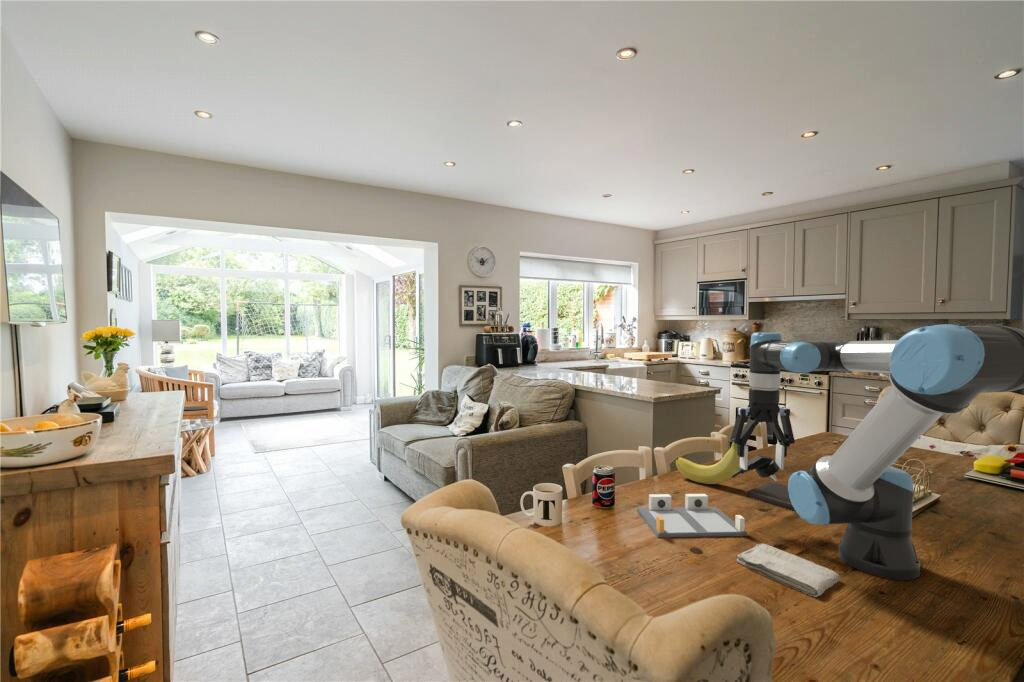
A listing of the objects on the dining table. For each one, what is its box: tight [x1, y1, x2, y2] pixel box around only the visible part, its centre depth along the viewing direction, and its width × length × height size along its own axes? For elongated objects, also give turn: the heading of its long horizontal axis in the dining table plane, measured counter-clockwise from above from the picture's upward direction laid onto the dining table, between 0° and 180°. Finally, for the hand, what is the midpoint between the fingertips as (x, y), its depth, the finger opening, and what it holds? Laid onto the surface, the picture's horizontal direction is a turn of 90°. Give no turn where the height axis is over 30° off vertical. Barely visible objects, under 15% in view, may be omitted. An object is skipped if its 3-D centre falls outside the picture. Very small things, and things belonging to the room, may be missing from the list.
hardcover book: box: [745, 481, 797, 513], centre depth 148 cm, size 16×23×2 cm
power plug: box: [732, 454, 780, 482], centre depth 133 cm, size 6×8×12 cm
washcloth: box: [736, 543, 841, 598], centre depth 107 cm, size 12×18×3 cm, turn 36°
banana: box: [674, 442, 741, 485], centre depth 165 cm, size 23×6×20 cm, turn 47°
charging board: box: [636, 493, 748, 538], centre depth 133 cm, size 17×24×5 cm
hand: (761, 468), depth 132 cm, fingers closed on power plug, 9 cm apart
